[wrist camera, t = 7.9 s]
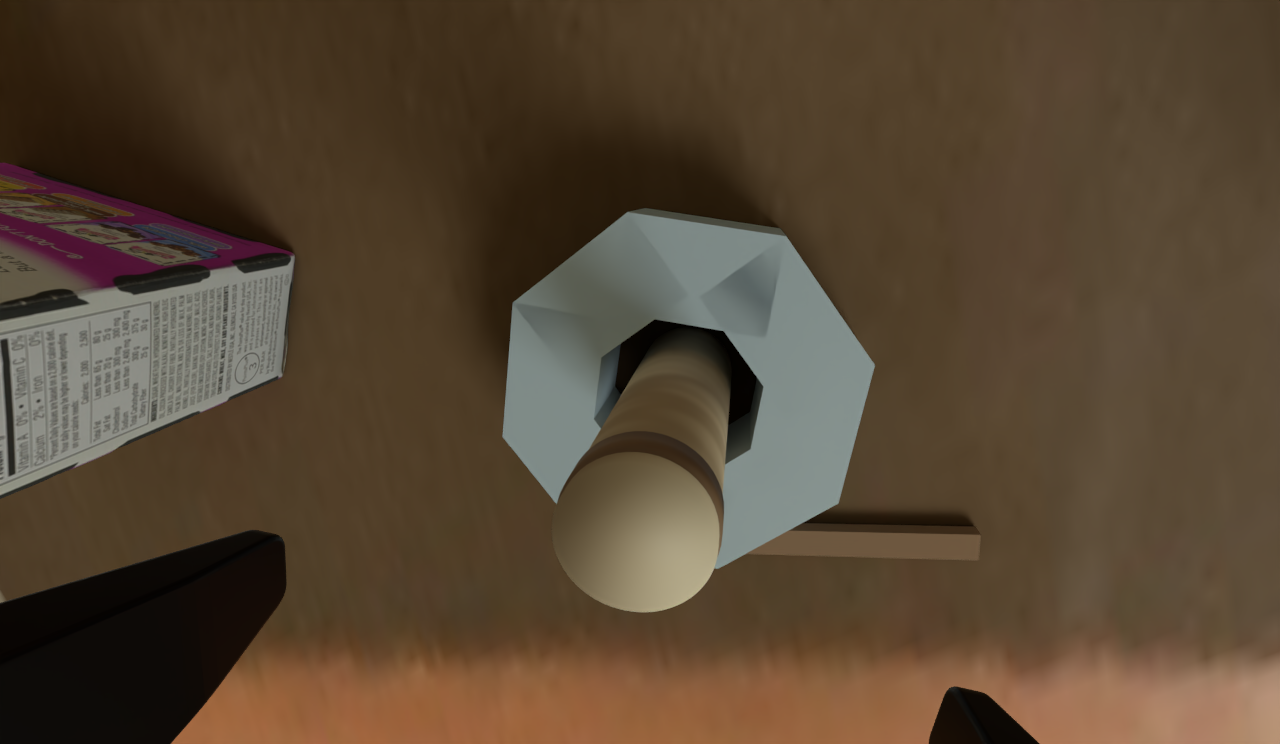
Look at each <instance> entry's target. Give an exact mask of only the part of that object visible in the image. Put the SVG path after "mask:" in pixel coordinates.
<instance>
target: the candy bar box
mask: <svg viewBox="0 0 1280 744" xmlns="http://www.w3.org/2000/svg"><path fill="white" fill-rule="evenodd" d="M294 264H295V255H294V254H293V253H292V252H290V251H287V250H284V249H280V248H277V247H274V246H270V245H267V244H264V243H260V242H257V241H253V240H250V239H247V238H244V237H240V236H237V235H234V234H230V233H227V232H224V231H221V230H218V229H215V228H212V227H208V226H205V225H202V224H199V223H196V222H193V221H189V220H186V219H183V218H180V217H176V216H173V215H170V214H167V213H163V212H160V211H157V210H154V209H150V208H147V207H144V206H141V205H138V204H134V203H131V202H128V201H125V200H122V199H119V198H116V197H112V196H109V195H106V194H103V193H100V192H97V191H94V190H91V189H87V188H84V187H81V186H78V185H74V184H71V183H68V182H65V181H62V180H58V179H55V178H52V177H49V176H46V175H43V174H40V173H37V172H34V171H30V170H27V169H24V168H21V167H18V166H15V165H11V164H8V163H0V499H1V498H3V497H6V496H8V495H11V494H13V493H15V492H18V491H20V490H23V489H25V488H28V487H30V486H33V485H35V484H37V483H40V482H42V481H44V480H47V479H49V478H51V477H53V476H55V475H57V474H60V473H62V472H65V471H67V470H70V469H73V468H76V467H78V466H81V465H83V464H85V463H88V462H90V461H92V460H94V459H97V458H99V457H101V456H103V455H106V454H108V453H111V452H112V451H114V450H115V449H117V448H119V447H122V446H125V445H127V444H130V443H132V442H134V441H136V440H138V439H141V438H143V437H146V436H148V435H150V434H153V433H155V432H158V431H160V430H162V429H164V428H167V427H169V426H171V425H173V424H176V423H179V422H181V421H183V420H185V419H188V418H190V417H192V416H194V415H197V414H199V413H201V412H204V411H206V410H209V409H211V408H213V407H215V406H219V405H221V404H222V403H224V402H226V401H229V400H231V399H233V398H236V397H238V396H240V395H243V394H245V393H248V392H250V391H252V390H254V389H257V388H259V387H261V386H264V385H266V384H268V383H270V382H272V381H275V380H278V379H280V378H281V377H282V376H283V372H284V367H285V362H286V354H287V346H288V318H289V309H290V302H291V295H292V287H293V277H294Z"/></svg>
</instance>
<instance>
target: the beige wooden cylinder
mask: <svg viewBox="0 0 1280 744" xmlns="http://www.w3.org/2000/svg"><path fill="white" fill-rule="evenodd" d="M731 379H732V365H731V360H730V357H729V354H728V352H727V350H726V349H725V347H724V346H723V344H722V343H721V342H720V341H719V340H718V339H717V338H716V337H714V336H713V335H712V334H710V333H708V332H706V331H704V330H701V329H697V328H691V327H682V328H676V329H673V330H670V331H668V332H666V333H664V334H662V335H661V336H659V337H658V338H657V339H656V340H655V341H654V342H653V343H652V345H651V346H650V348H649V349H648V351H647V353H646V354H645V356H644V358H643V359H642V361H641V363H640V364H639V366H638V368H637V369H636V371H635V373H634V374H633V376H632V378H631V379H630V381H629V383H628V384H627V386H626V388H625V389H624V391H623V393H622V394H621V396H620V398H619V400H618V401H617V403H616V405H615V406H614V408H613V410H612V411H611V413H610V415H609V416H608V418H607V420H606V421H605V423H604V425H603V426H602V428H601V430H600V431H599V433H598V435H597V436H596V438H595V440H594V441H593V443H592V445H591V446H590V448H589V450H588V451H587V452H586V453H585V454H584V455H583V456H582V457H581V459H580V460H579V462H578V463H577V464H576V466H575V468H574V469H573V471H572V473H571V474H570V476H569V478H568V479H567V481H566V483H565V484H564V486H563V488H562V490H561V492H560V495H559V498H558V501H557V505H556V508H555V510H554V514H553V519H552V541H553V545H554V549H555V553H556V555H557V558H558V560H559V562H560V564H561V566H562V567H563V569H564V571H565V572H566V573H567V575H568V576H569V578H570V579H571V580H572V581H573V582H574V583H575V584H576V585H577V586H578V587H579V588H580V589H582V590H583V591H584V592H585V593H587V594H588V595H590V596H591V597H592V598H594V599H596V600H598V601H600V602H602V603H604V604H606V605H609V606H611V607H614V608H618V609H621V610H626V611H632V612H655V611H661V610H665V609H669V608H672V607H675V606H677V605H679V604H681V603H683V602H685V601H687V600H688V599H690V598H691V597H693V596H694V595H695V594H696V593H697V592H699V590H700V589H701V588H702V587H703V586H704V585H705V584H706V582H707V581H708V579H709V578H710V576H711V574H712V572H713V570H714V567H715V564H716V561H717V557H718V555H719V551H720V548H721V543H722V535H723V521H724V500H723V483H724V470H725V457H726V444H727V431H728V418H729V405H730V392H731Z"/></svg>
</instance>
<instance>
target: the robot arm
mask: <svg viewBox="0 0 1280 744" xmlns="http://www.w3.org/2000/svg"><path fill="white" fill-rule="evenodd" d="M285 590H286V561H285V544H284V541H283V539H282V538H281V537H280V536H279V535H277V534H272V533H268V532H263V531H259V530H249V531H245V532H242V533H238V534H235V535H231V536H228V537H224V538H221V539H218V540H214V541H211V542H207V543H204V544H200V545H197V546H194V547H190V548H187V549H183V550H180V551H177V552H173V553H170V554H166V555H163V556H159V557H156V558H153V559H149V560H146V561H142V562H139V563H135V564H132V565H129V566H125V567H122V568H118V569H115V570H112V571H108V572H105V573H101V574H98V575H94V576H91V577H88V578H84V579H81V580H77V581H74V582H70V583H67V584H64V585H60V586H57V587H53V588H50V589H47V590H43V591H40V592H36V593H33V594H29V595H26V596H23V597H19V598H16V599H12V600H9V601H5V602H2V603H0V744H171V743H172V741H173V740H174V739H175V738H176V737H177V736H178V735H179V733H180V732H181V731H182V730H183V729H184V728H185V727H186V726H187V724H188V723H189V722H190V721H191V720H192V719H193V717H194V716H195V715H196V714H197V713H198V712H199V710H200V709H201V708H202V707H203V706H204V704H205V703H206V702H207V701H208V699H209V698H210V697H211V695H212V694H213V693H214V692H215V690H216V689H217V688H218V687H219V685H220V684H221V683H222V681H223V680H224V678H225V677H226V676H227V674H228V673H229V672H230V670H231V669H232V668H233V666H234V665H235V664H236V662H237V661H238V660H239V658H240V657H241V655H242V654H243V653H244V651H245V650H246V649H247V647H248V646H249V645H250V643H251V642H252V641H253V639H254V638H255V636H256V635H257V634H258V632H259V631H260V630H261V628H262V627H263V626H264V624H265V623H266V622H267V620H268V619H269V617H270V616H271V615H272V613H273V612H274V611H275V609H276V608H277V607H278V605H279V604H280V602H281V600H282V598H283V596H284V593H285ZM929 744H1039V743H1038V742H1037V741H1036V740H1035V739H1034V738H1033V737H1032V736H1031V735H1030V734H1029V733H1028V732H1027V731H1026V730H1024V729H1023V728H1022V727H1021V726H1020V725H1019V724H1018V723H1017V722H1016V721H1015V720H1014V719H1013V718H1012V717H1011V716H1010V715H1009V714H1008V713H1006V712H1005V711H1004V710H1003V709H1002V708H1001V707H1000V706H999V705H998V704H997V703H996V702H995V701H994V700H993V699H992V698H990V697H989V696H988V695H986V694H985V693H982V692H978V691H974V690H969V689H965V688H960V687H951V688H949V689H948V690H947V692H946V693H945V695H944V698H943V701H942V704H941V706H940V709H939V712H938V715H937V717H936V720H935V723H934V726H933V729H932V731H931V734H930V738H929Z"/></svg>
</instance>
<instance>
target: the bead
mask: <svg viewBox="0 0 1280 744" xmlns="http://www.w3.org/2000/svg"><path fill="white" fill-rule="evenodd" d="M654 319H656V320H662V321H667V322H673V323H679V324H685V325H691V326H697V327H702V328H708V329H714V330H720V331H724V332H725V334H726V335H727V336H728V338H729V339H730V341H731V342H732V343H733V345H734V346H735V348H736V349H737V350H738V352H739V353H740V354H741V356H742V357H743V359H744V360H745V361H746V363H747V364H748V366H749V367H750V368H751V370H752V371H753V373H754V374H755V375H756V377H757V380H756V385H755V390H754V394H753V399H752V404H751V409H750V412H749V413H747V414H745V415H744V416H742V417H741V418H739V419H737V420H736V421H734V422H733V423H731V424H729V425H728V431H727V444H726V457H725V470H724V483H723V500H724V521H723V535H722V543H721V548H720V551H719V555H718V557H717V561H716V564H715V567H714V568H716V569H719V568H720V567H722V566H724V565H726V564H728V563H730V562H731V561H733V560H735V559H737V558H739V557H741V556H743V555H744V554H746V553H748V552H750V551H752V550H754V549H755V548H757V547H759V546H761V545H763V544H765V543H766V542H768V541H770V540H772V539H774V538H776V537H777V536H779V535H781V534H783V533H785V532H787V531H789V530H790V529H792V528H794V527H796V526H798V525H800V524H801V523H803V522H805V521H807V520H809V519H811V518H812V517H814V516H816V515H818V514H820V513H822V512H823V511H825V510H827V509H829V508H831V507H833V506H835V505H836V504H838V503H839V499H840V495H841V491H842V487H843V484H844V480H845V476H846V472H847V469H848V465H849V461H850V457H851V453H852V450H853V446H854V442H855V438H856V434H857V431H858V427H859V423H860V419H861V416H862V412H863V408H864V404H865V400H866V397H867V393H868V389H869V385H870V382H871V378H872V374H873V370H874V366H875V364H874V363H873V362H872V360H871V359H870V357H869V356H868V355H867V353H866V352H865V350H864V349H863V347H862V346H861V345H860V343H859V342H858V340H857V339H856V337H855V336H854V334H853V333H852V331H851V330H850V328H849V327H848V326H847V324H846V323H845V321H844V320H843V318H842V317H841V315H840V314H839V312H838V311H837V310H836V308H835V307H834V305H833V304H832V302H831V301H830V299H829V298H828V296H827V295H826V294H825V292H824V291H823V289H822V288H821V286H820V285H819V283H818V282H817V280H816V279H815V277H814V276H813V275H812V273H811V272H810V270H809V269H808V267H807V266H806V264H805V263H804V261H803V260H802V259H801V257H800V256H799V254H798V253H797V251H796V250H795V248H794V247H793V245H792V244H791V242H790V241H789V240H788V238H787V236H786V235H785V234H784V232H783V231H782V230H781V229H780V228H774V227H768V226H761V225H754V224H748V223H741V222H735V221H728V220H721V219H715V218H708V217H701V216H695V215H688V214H682V213H675V212H668V211H662V210H655V209H648V208H643V209H639V210H634V211H629V212H627V213H626V214H625V215H623V216H622V217H621V218H619V219H618V220H617V221H616V222H614V223H613V224H612V225H611V226H609V227H608V228H607V229H606V230H604V231H603V232H602V233H600V234H599V235H598V236H597V237H595V238H594V239H593V240H592V241H590V242H589V243H588V244H587V245H585V246H584V247H583V248H581V249H580V250H579V251H578V252H576V253H575V254H574V255H573V256H571V257H570V258H569V259H568V260H566V261H565V262H564V263H562V264H561V265H560V266H559V267H557V268H556V269H555V270H554V271H552V272H551V273H550V274H549V275H547V276H546V277H545V278H543V279H542V280H541V281H540V282H538V283H537V284H536V285H535V286H533V287H532V288H531V289H530V290H528V291H527V292H526V293H524V294H523V295H522V296H521V297H519V298H518V299H517V300H516V301H514V302H513V306H512V319H511V333H510V346H509V359H508V372H507V385H506V399H505V412H504V425H503V436H502V437H503V438H504V439H505V440H506V442H507V443H508V444H509V445H510V447H511V448H512V449H513V450H514V452H515V453H516V454H517V455H518V456H519V458H520V459H521V460H522V461H523V463H524V464H525V465H526V466H527V468H528V469H529V470H530V471H531V473H532V474H533V475H534V476H535V478H536V479H537V480H538V481H539V483H540V484H541V485H542V486H543V488H544V489H545V490H546V491H547V493H548V494H549V495H550V496H551V498H552V499H553V500H554V501H555V503H556V504H557V501H558V498H559V495H560V492H561V490H562V488H563V486H564V484H565V483H566V481H567V479H568V478H569V476H570V474H571V473H572V471H573V469H574V468H575V466H576V464H577V463H578V462H579V460H580V459H581V457H582V456H583V455H584V454H585V453H586V452H587V451H588V450H589V448H590V446H591V445H592V443H593V441H594V440H595V438H596V436H597V435H598V433H599V431H600V430H601V428H602V426H603V425H604V423H605V421H606V420H607V418H608V416H609V415H610V413H611V411H612V410H613V408H614V406H615V405H616V403H617V401H618V400H619V398H620V396H621V394H620V392H619V391H618V390H617V389H616V387H615V384H616V376H617V368H618V361H619V353H620V346H621V343H622V342H624V341H625V340H626V339H628V338H629V337H631V336H632V335H633V334H635V333H636V332H638V331H639V330H640V329H642V328H643V327H645V326H646V325H647V324H649V323H650V322H652V321H653V320H654Z"/></svg>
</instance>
